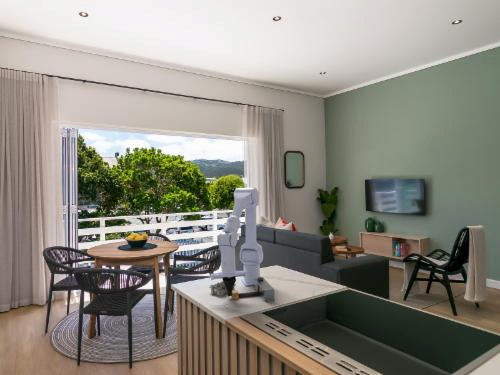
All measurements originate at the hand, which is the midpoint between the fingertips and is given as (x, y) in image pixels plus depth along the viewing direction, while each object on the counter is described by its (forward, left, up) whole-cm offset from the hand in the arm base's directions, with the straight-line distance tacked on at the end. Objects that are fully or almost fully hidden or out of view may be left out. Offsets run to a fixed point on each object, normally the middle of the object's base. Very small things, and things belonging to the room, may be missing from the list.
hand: (229, 295), depth 139 cm
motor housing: (0, +15, -1) cm, 15 cm away
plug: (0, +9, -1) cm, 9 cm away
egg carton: (-10, -1, -2) cm, 10 cm away
